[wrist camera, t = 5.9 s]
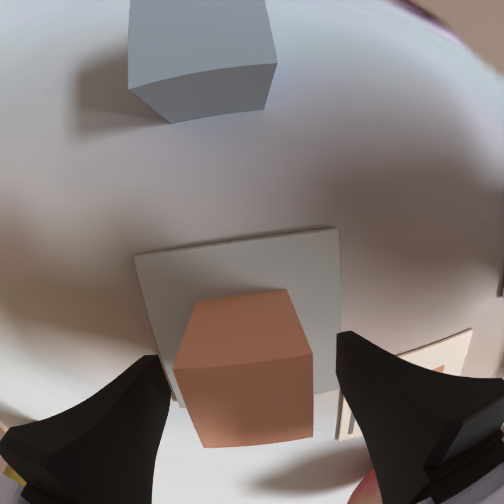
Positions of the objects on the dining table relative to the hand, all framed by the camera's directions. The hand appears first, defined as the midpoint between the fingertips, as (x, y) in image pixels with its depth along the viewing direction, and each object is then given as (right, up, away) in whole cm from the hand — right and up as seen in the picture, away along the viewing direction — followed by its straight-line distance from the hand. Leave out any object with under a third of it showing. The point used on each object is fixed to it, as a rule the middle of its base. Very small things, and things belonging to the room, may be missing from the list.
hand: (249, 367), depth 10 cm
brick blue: (-2, +12, 0) cm, 12 cm away
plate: (0, +1, +3) cm, 3 cm away
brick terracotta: (0, +1, +2) cm, 2 cm away
